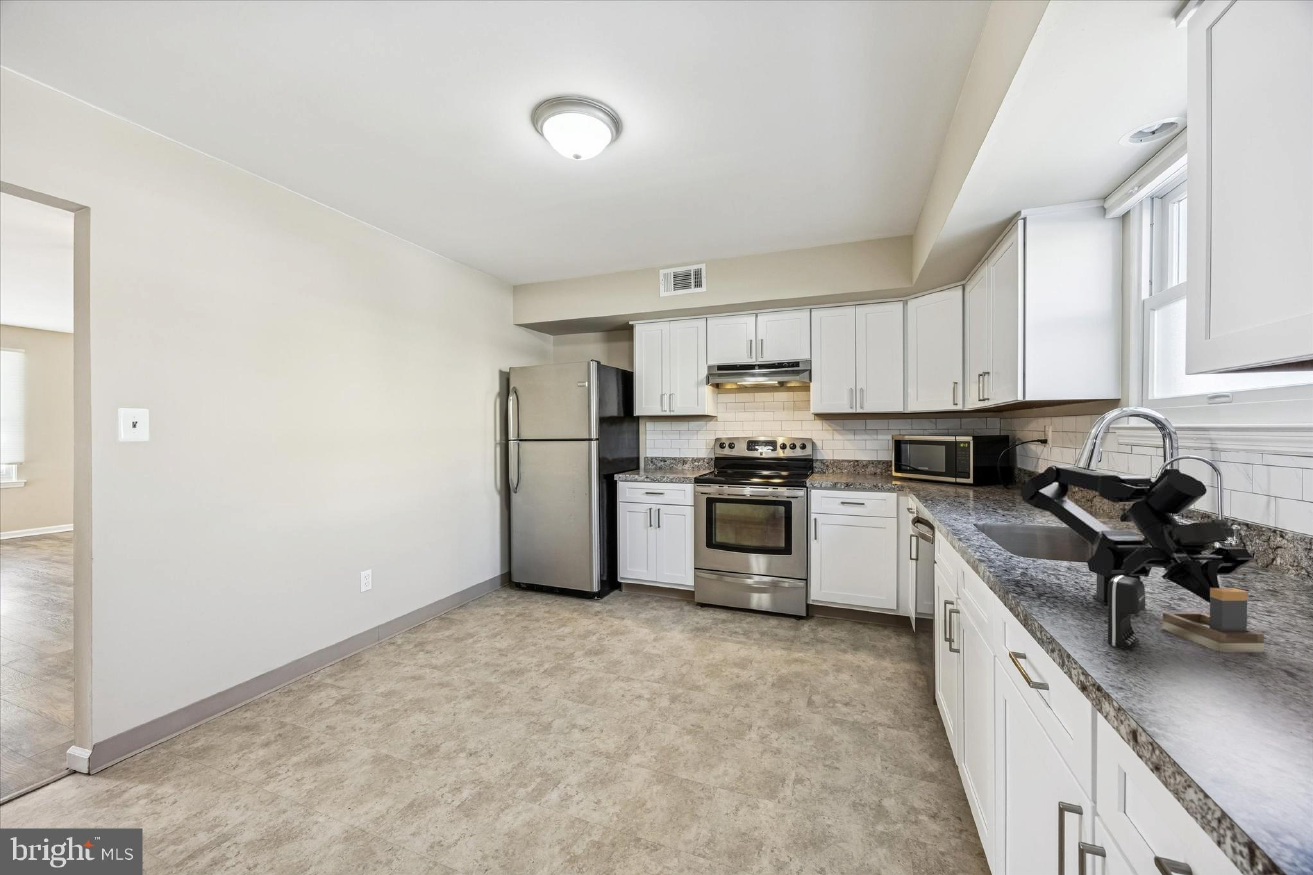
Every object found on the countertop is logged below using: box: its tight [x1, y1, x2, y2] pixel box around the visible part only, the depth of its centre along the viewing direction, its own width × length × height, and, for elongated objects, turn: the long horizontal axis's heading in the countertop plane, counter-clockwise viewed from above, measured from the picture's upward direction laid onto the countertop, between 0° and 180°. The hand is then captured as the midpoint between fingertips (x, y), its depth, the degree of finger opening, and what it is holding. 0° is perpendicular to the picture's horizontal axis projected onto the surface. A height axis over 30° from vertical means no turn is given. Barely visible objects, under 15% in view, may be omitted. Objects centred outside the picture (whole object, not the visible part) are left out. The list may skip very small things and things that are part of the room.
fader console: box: [1162, 611, 1265, 653], centre depth 91 cm, size 10×7×3 cm
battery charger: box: [1107, 575, 1146, 650], centre depth 89 cm, size 7×4×11 cm, turn 126°
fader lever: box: [1209, 587, 1248, 632], centre depth 88 cm, size 2×4×8 cm, turn 89°
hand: (1220, 605), depth 89 cm, fingers closed, pressing on fader lever
